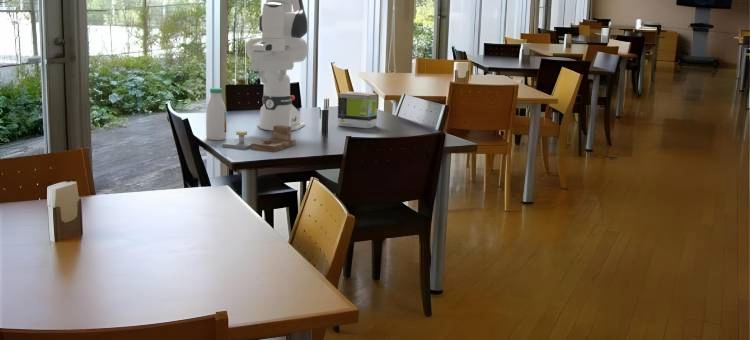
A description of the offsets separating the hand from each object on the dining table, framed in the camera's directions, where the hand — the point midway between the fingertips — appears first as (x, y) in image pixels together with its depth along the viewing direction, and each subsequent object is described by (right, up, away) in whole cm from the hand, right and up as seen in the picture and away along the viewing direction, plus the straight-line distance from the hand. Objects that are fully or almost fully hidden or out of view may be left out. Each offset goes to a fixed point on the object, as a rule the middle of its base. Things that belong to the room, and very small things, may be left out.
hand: (272, 82), depth 327 cm
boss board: (-10, -23, +2) cm, 26 cm away
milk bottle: (-23, -21, +11) cm, 33 cm away
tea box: (+31, -14, +53) cm, 63 cm away
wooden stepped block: (+1, -25, -2) cm, 25 cm away
